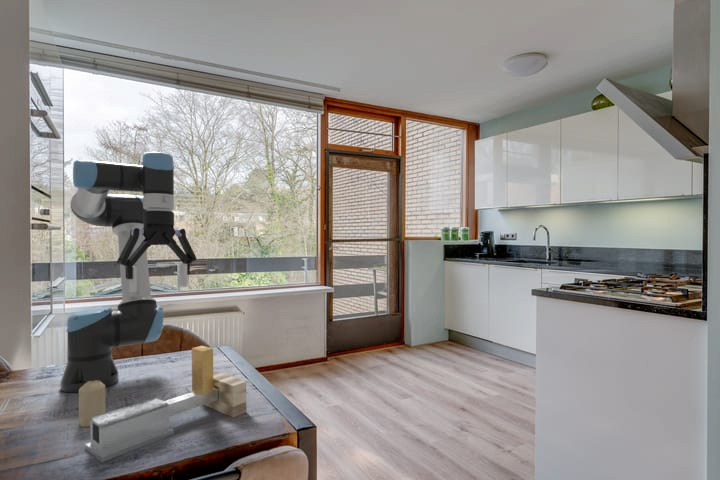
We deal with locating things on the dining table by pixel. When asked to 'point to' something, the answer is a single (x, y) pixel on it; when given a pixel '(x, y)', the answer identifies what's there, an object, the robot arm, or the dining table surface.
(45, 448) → the dining table surface
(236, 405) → the socket block
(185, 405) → the tube
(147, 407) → the sleeve
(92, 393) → the candle
